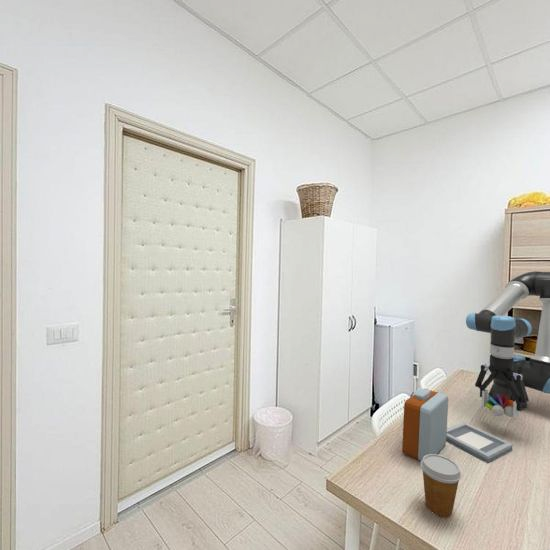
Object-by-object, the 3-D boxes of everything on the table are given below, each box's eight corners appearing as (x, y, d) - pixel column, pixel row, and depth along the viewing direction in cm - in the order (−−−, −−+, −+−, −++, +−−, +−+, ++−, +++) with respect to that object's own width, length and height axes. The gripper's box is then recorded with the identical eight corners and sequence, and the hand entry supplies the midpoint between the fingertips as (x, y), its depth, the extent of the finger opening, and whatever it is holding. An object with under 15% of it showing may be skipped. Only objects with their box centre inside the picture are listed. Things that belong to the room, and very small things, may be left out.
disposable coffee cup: (442, 493, 88) (444, 451, 87) (468, 520, 78) (470, 474, 78) (411, 496, 86) (413, 454, 86) (434, 524, 77) (436, 477, 76)
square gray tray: (463, 427, 125) (463, 422, 125) (512, 450, 110) (512, 444, 110) (438, 437, 117) (439, 431, 117) (487, 463, 102) (488, 456, 102)
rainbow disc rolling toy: (520, 419, 116) (521, 400, 116) (491, 416, 118) (491, 398, 118) (508, 408, 124) (509, 391, 124) (481, 406, 126) (482, 389, 126)
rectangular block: (421, 434, 119) (424, 381, 118) (446, 444, 112) (449, 388, 112) (401, 454, 106) (403, 394, 105) (428, 466, 99) (431, 403, 99)
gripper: (466, 349, 128) (464, 402, 129) (532, 366, 108) (530, 428, 109) (476, 347, 132) (474, 398, 133) (542, 363, 112) (539, 422, 113)
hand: (499, 411), depth 121 cm, fingers closed on rainbow disc rolling toy, 10 cm apart
